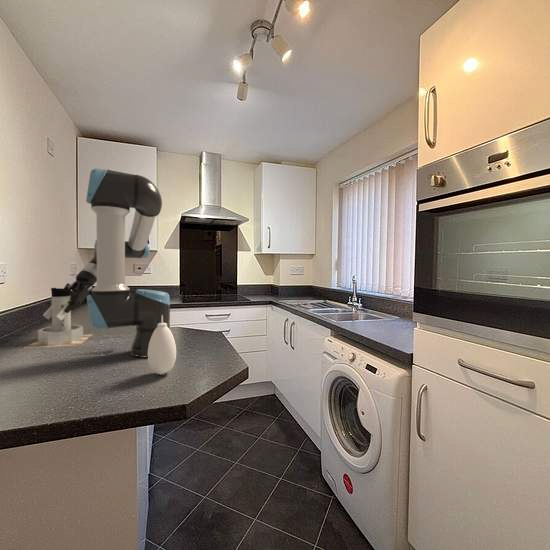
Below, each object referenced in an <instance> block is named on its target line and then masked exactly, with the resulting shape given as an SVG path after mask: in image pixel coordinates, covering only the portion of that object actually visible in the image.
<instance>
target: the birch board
mask: <svg viewBox="0 0 550 550" xmlns="http://www.w3.org/2000/svg"><path fill="white" fill-rule="evenodd" d="M93 335H94V333H93V334H83V339H82V340H80V341H77V342H74V343H69V344H62V345H49V346H47V345H40V344H39V343H38V340H37V341H35V342H32V343H30V344H28V345H26V346H24V347H23V349H32V348H51V347H66V346H68V347H69V346H70V347H71V346H80V345H81V344H83V343H84V342H85V341H87V340H88V339H89V338H90V337H92V336H93Z"/></svg>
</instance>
